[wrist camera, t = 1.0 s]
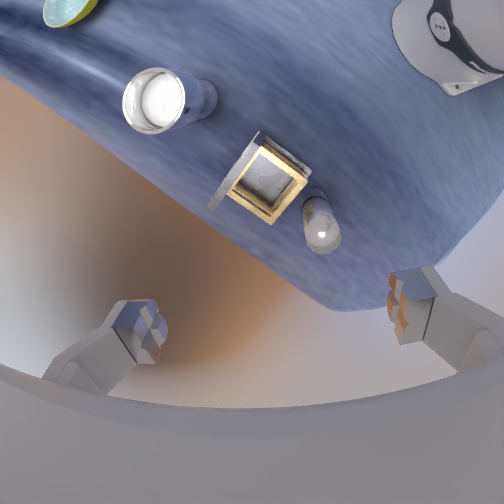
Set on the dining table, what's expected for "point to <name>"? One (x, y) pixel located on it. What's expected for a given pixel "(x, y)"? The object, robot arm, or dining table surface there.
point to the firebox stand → (263, 179)
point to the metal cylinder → (319, 222)
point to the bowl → (66, 11)
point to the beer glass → (166, 100)
